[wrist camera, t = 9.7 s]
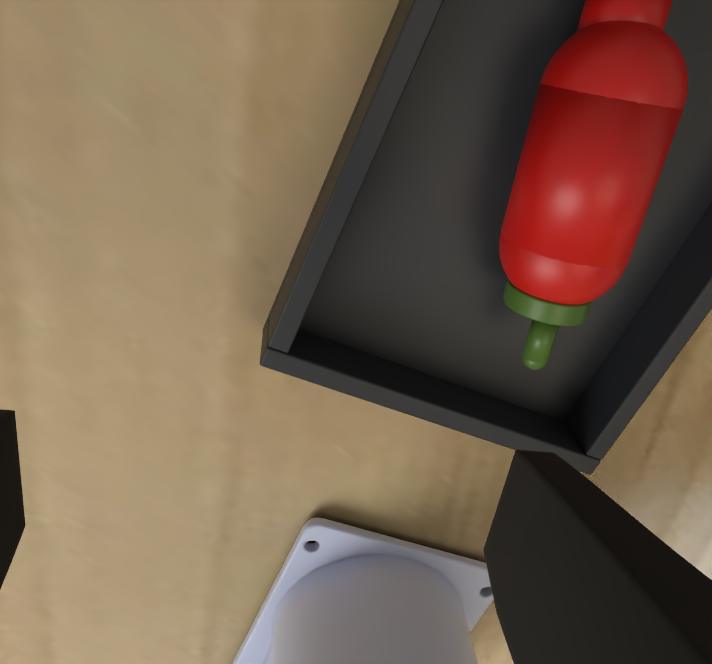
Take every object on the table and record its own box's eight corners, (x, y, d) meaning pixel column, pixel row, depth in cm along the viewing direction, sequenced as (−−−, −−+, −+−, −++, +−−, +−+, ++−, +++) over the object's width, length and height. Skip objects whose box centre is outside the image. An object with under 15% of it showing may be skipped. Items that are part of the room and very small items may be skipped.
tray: (563, 433, 21) (591, 476, 19) (262, 329, 18) (258, 365, 17) (890, -45, 15) (975, -54, 14) (522, -296, 13) (563, -353, 11)
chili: (550, 338, 19) (608, 395, 16) (453, 334, 18) (497, 392, 16) (671, -36, 15) (777, -46, 12) (552, -65, 14) (637, -82, 11)
